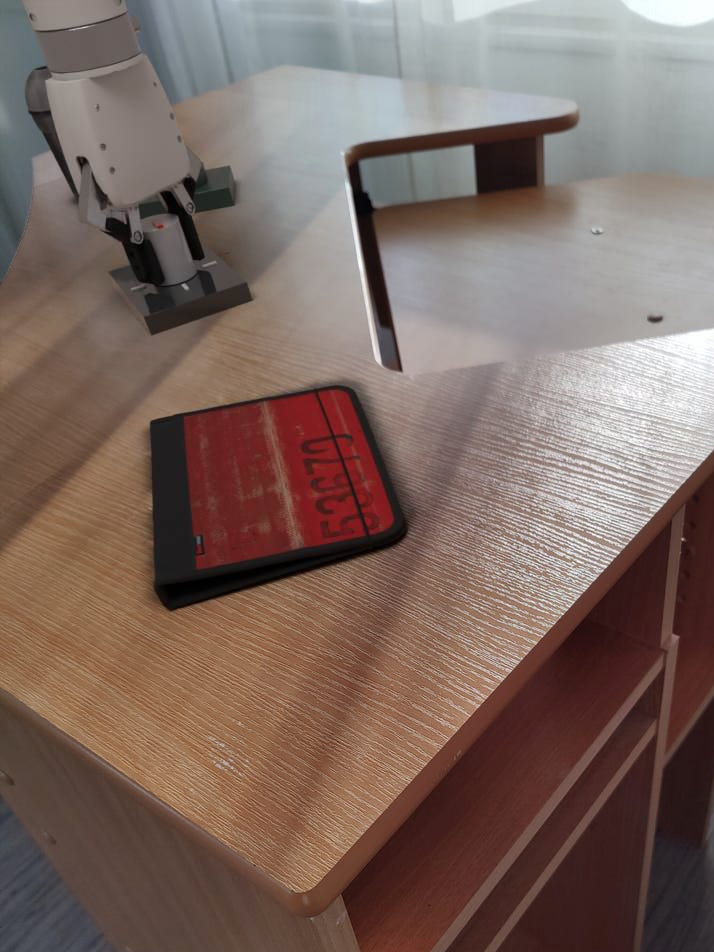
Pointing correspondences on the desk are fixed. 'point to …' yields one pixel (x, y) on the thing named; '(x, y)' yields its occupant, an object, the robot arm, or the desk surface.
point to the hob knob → (169, 247)
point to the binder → (265, 491)
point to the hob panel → (182, 294)
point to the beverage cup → (47, 119)
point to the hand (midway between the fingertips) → (171, 268)
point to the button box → (200, 193)
